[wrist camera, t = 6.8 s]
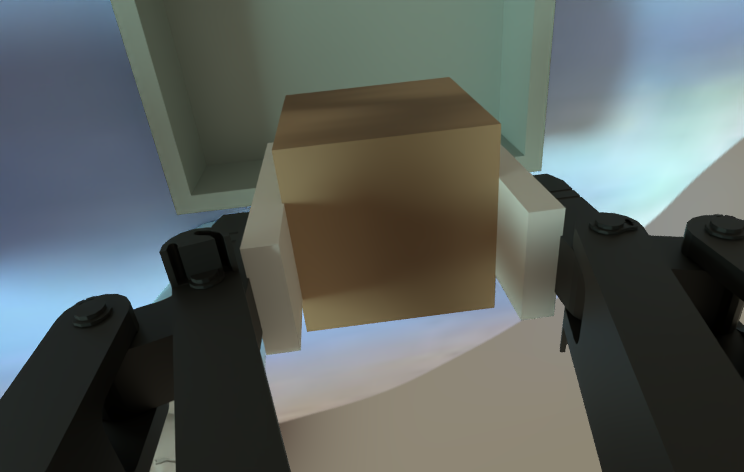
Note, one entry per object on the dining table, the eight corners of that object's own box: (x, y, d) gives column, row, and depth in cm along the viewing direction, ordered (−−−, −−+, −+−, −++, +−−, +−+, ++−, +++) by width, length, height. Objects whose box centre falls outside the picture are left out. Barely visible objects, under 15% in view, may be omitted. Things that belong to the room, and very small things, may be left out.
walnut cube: (310, 239, 18) (307, 331, 13) (285, 95, 15) (271, 150, 11) (451, 221, 18) (494, 307, 13) (449, 77, 15) (501, 124, 11)
